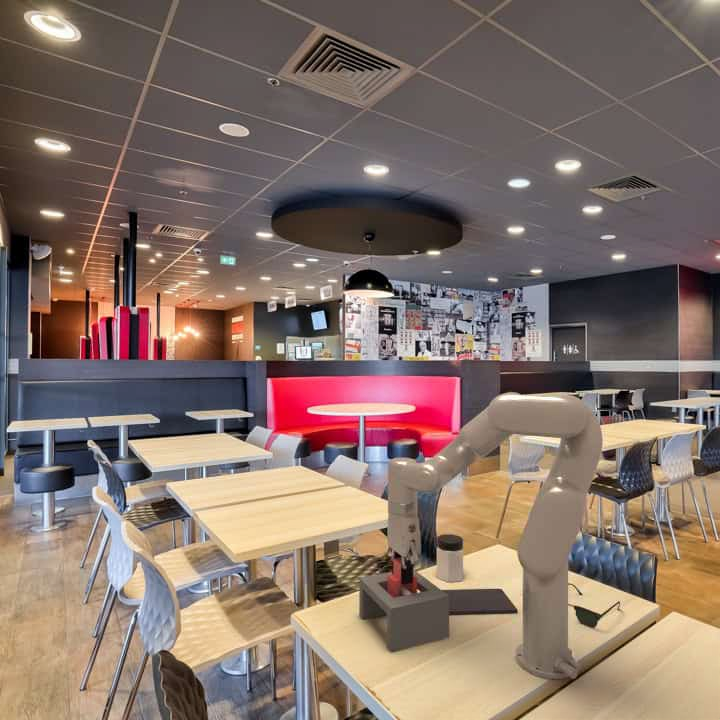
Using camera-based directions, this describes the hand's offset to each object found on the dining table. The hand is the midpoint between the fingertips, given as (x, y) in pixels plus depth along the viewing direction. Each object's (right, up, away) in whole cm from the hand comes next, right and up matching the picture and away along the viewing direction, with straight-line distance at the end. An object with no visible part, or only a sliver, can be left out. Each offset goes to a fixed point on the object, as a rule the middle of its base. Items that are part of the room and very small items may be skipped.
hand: (402, 578), depth 124 cm
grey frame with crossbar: (0, -12, 0) cm, 12 cm away
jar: (+18, -13, +29) cm, 37 cm away
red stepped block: (0, -8, 0) cm, 8 cm away
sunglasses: (+50, -13, +8) cm, 53 cm away
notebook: (+21, -13, +12) cm, 27 cm away
